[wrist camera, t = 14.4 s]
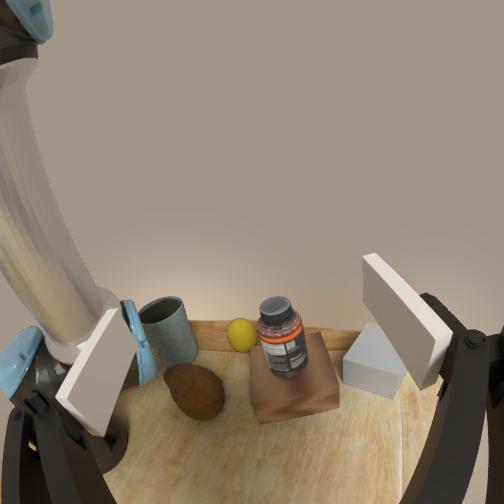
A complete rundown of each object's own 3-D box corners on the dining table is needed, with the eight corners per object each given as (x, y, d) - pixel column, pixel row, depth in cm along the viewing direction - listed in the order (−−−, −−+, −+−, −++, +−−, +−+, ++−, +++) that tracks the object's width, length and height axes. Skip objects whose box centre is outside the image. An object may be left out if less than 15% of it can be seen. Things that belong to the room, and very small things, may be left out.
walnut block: (260, 423, 35) (251, 402, 32) (257, 370, 46) (249, 346, 44) (339, 407, 34) (339, 384, 32) (322, 355, 45) (320, 331, 43)
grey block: (343, 382, 38) (342, 358, 36) (366, 347, 44) (367, 322, 41) (393, 399, 32) (398, 374, 30) (411, 359, 37) (416, 333, 35)
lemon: (228, 357, 51) (216, 326, 48) (242, 339, 55) (231, 309, 52) (253, 362, 48) (242, 330, 45) (265, 343, 52) (256, 311, 49)
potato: (210, 372, 48) (194, 339, 44) (242, 410, 38) (226, 377, 35) (171, 392, 44) (151, 360, 41) (197, 436, 34) (173, 405, 31)
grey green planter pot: (157, 374, 49) (131, 329, 45) (160, 345, 58) (139, 303, 54) (203, 363, 50) (181, 316, 46) (200, 334, 60) (182, 290, 55)
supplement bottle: (284, 347, 42) (270, 288, 37) (316, 357, 38) (307, 295, 33) (261, 371, 38) (242, 311, 34) (294, 385, 34) (280, 323, 30)
